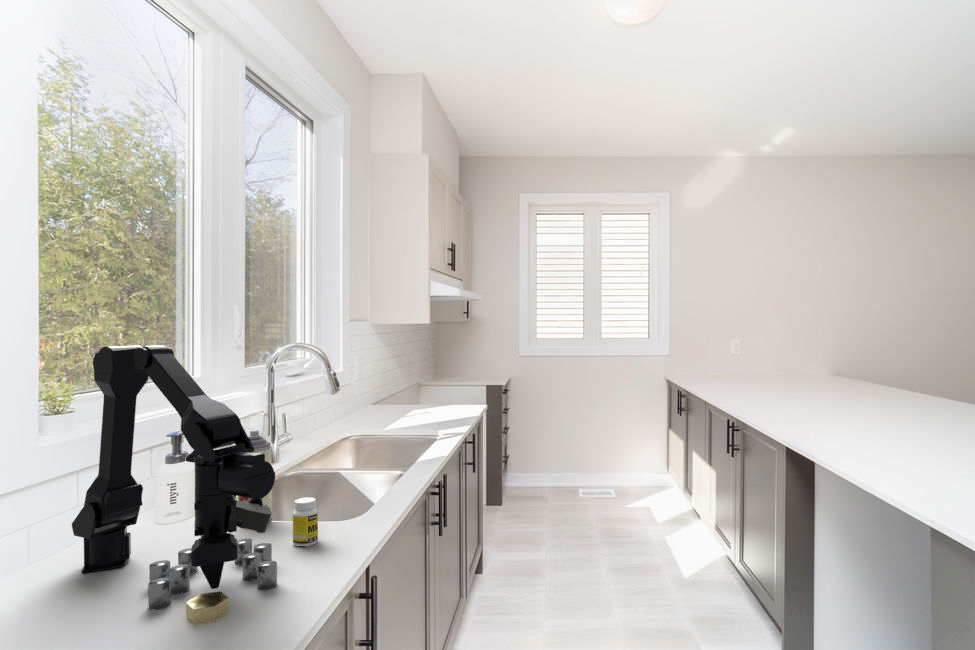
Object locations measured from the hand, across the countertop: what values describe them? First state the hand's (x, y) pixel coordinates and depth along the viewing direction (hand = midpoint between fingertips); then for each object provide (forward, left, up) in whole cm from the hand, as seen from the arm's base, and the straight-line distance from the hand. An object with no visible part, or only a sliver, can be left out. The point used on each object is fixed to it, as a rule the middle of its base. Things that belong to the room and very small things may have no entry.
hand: (215, 587), depth 94 cm
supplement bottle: (+16, +16, -1) cm, 23 cm away
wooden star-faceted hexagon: (-1, -8, -1) cm, 8 cm away
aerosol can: (+8, +34, -1) cm, 35 cm away
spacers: (0, +5, -1) cm, 5 cm away
